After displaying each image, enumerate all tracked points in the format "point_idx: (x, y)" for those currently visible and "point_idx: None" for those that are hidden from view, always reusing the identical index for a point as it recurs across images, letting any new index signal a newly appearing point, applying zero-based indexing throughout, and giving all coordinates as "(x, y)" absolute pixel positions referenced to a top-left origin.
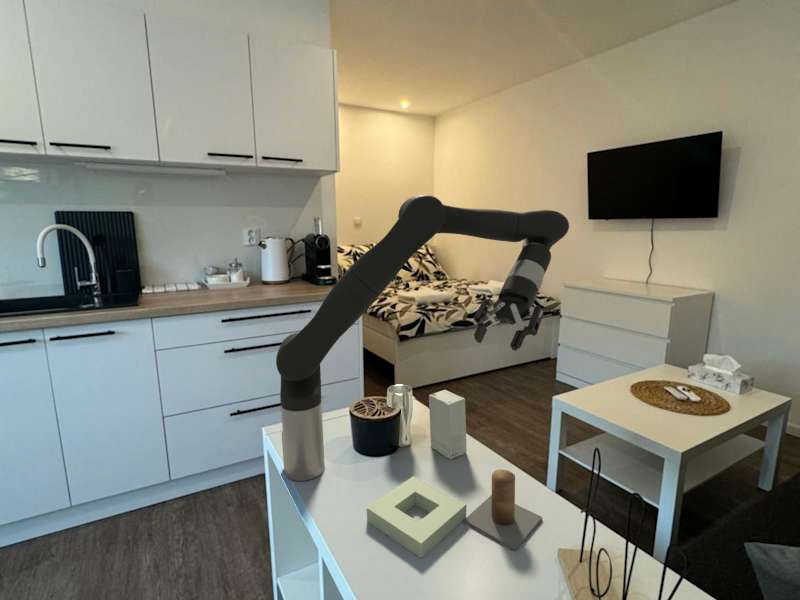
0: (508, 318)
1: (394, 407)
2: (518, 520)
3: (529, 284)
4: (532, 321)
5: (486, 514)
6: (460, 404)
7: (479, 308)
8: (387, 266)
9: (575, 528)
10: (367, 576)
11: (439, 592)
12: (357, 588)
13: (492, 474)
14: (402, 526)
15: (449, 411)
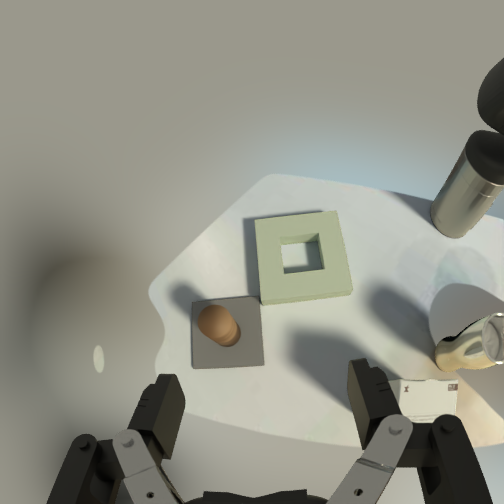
0: (220, 495)
1: (475, 321)
2: (210, 342)
3: None
4: (73, 470)
5: (245, 323)
6: None
7: (477, 478)
8: None
9: None
10: (275, 185)
11: (219, 217)
12: (271, 175)
13: (228, 313)
14: (286, 220)
15: (394, 382)
